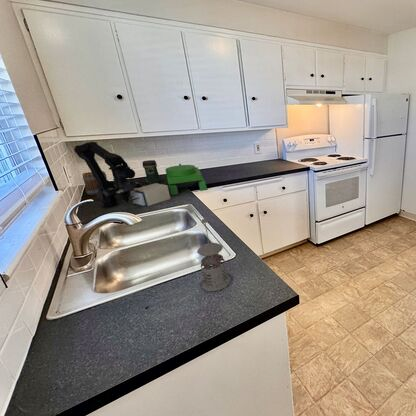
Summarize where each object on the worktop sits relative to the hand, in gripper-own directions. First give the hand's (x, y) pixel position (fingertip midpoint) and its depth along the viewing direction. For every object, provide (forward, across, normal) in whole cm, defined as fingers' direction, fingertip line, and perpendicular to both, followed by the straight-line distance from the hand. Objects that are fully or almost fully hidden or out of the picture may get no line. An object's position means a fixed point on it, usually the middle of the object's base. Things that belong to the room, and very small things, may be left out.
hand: (127, 201), depth 164 cm
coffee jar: (+5, +42, +44) cm, 62 cm away
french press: (+5, -26, -107) cm, 111 cm away
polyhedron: (+3, +11, 0) cm, 11 cm away
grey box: (+4, +16, 0) cm, 16 cm away
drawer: (+4, +10, 0) cm, 11 cm away
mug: (+5, +9, +57) cm, 58 cm away
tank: (+5, +48, +9) cm, 49 cm away
